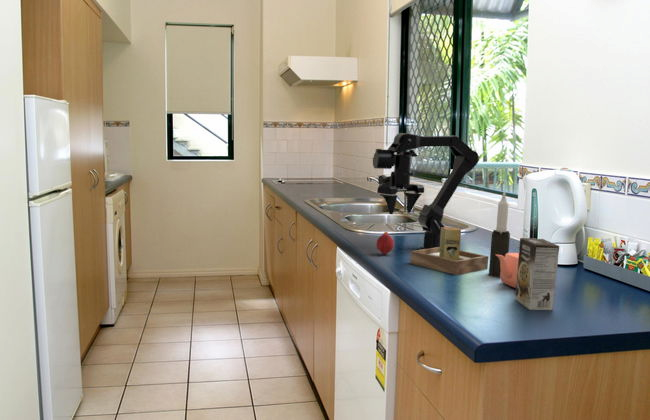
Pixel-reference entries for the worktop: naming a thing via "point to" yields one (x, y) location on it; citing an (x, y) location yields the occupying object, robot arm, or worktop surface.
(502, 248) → the candle
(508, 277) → the teapot
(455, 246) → the shoe polish box
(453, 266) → the walnut crate with socket plate
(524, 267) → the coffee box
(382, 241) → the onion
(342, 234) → the worktop surface
